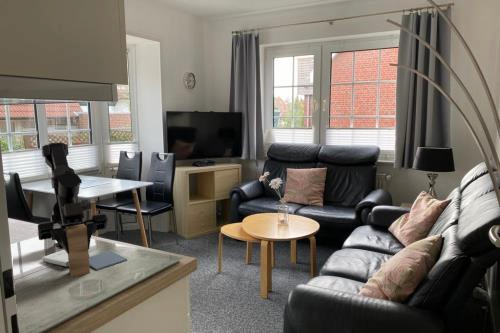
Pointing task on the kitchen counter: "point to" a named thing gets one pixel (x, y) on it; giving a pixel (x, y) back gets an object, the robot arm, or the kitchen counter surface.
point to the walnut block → (78, 250)
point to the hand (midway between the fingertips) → (78, 251)
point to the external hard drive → (57, 258)
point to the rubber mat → (105, 260)
